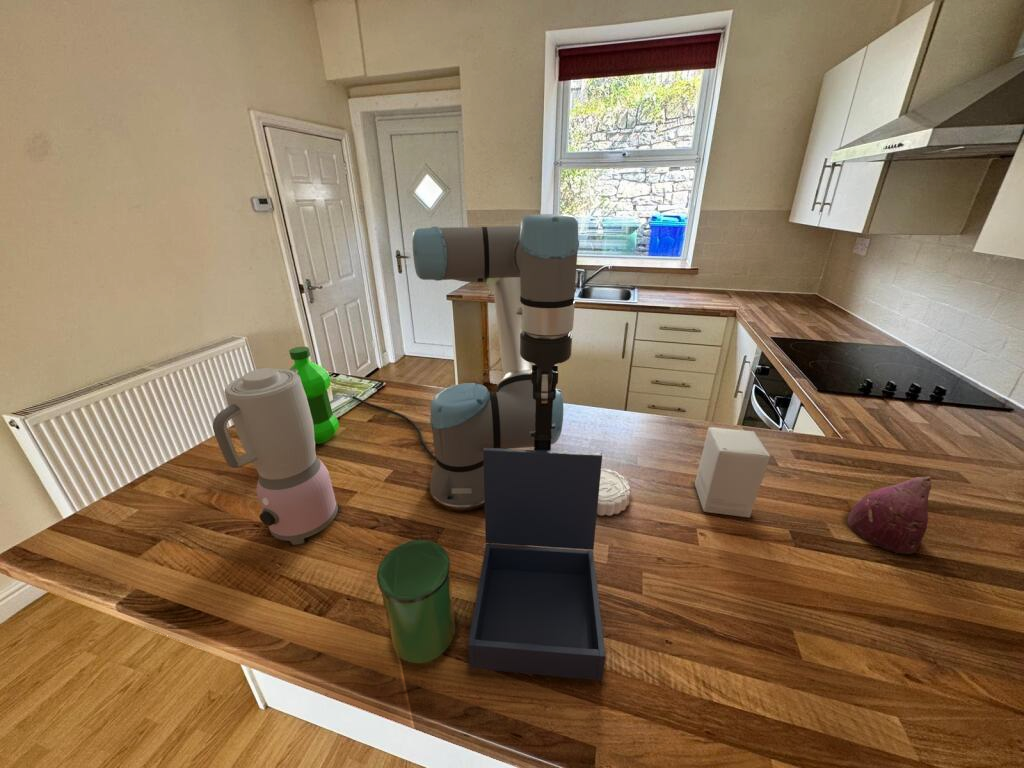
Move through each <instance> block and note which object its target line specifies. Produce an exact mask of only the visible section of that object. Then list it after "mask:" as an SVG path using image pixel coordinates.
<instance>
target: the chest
mask: <svg viewBox="0 0 1024 768" xmlns="http://www.w3.org/2000/svg"><path fill="white" fill-rule="evenodd" d="M484 547H485V548H484V553H483V559H482V564H481V570H480V575H479V581H478V587H477V591H476V597H475V604H474V608H473V614H472V619H471V625H470V631H469V636H468V641H467V651H468V662H469V669H474V670H475V669H476V670H486V671H487V670H488V671H496V672H497V671H498V672H509V673H510V672H511V673H521V674H530V675H531V674H533V675H542V676H543V675H544V676H555V677H567V678H577V679H589V680H601V681H603V675H604V670H605V664H606V657H607V656H606V647H605V640H604V630H603V623H602V614H601V605H600V597H599V589H598V588H599V587H598V579H597V573H596V564H595V555H594V549H593V550H588V549H573V548H557V547H541V546H526V545H510V544H494V543H485V546H484Z"/></svg>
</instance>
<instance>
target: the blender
mask: <svg viewBox="0 0 1024 768" xmlns="http://www.w3.org/2000/svg"><path fill="white" fill-rule="evenodd" d="M297 373H298V370H296V369H290V368H289V369H285V368H272V367H267V368H266V367H263V368H258V369H253V370H251V371H248V372H246V373H245V374H243V375H242V376H240V377H238V378H235V379H234V380H232V381H231V382H229V383H228V384H227V386H226V387H225V389H224V395H225V399H226V403H227V407H225V408H224V409H222V410H220V411H219V412H218V413H217V414H216V416H214V419H213V422H212V430H213V433H214V436H215V439H216V442H217V444H218V447H219V449H220V451H221V453H222V456H223V458H224V460H225V462H226V464H227V466H228V467H229V468H233V469H239V468H243V467H244V466H247V465H248V464H252V465H253V467H254V468H255V469H256V471H257V473H258V480H257V483H256V496H257V500H258V503H259V505H260V508H261V511H262V512H261V513H260V514H259V520H260V521H261V523H262V524H264V525H265V526H267V527H268V529H269V532H270V534H271V536H273V538H275V539H277V540H280V541H285V542H286V541H287V542H290V543H291V545H292V546H296V545H303V544H305V542H306V541H305V539H307V538H309V537H312V536H314V535H316V534H318V533H320V532H321V531H323V530H324V529H325V528H327V527H328V526H329V525H330V524H331V523H332V522H333V521H334V519H335V518H336V516H337V514H338V512H339V505H338V501H337V499H336V496H335V492H334V488H333V483H332V479H331V476H330V472H329V470H328V467H326V465H325V464H324V462H323V461H322V460H321V459H319V458H318V456H317V453H316V443H315V437H314V425H313V420H312V416H311V412H310V408H309V404H308V400H307V397H306V394H305V391H304V388H303V385H302V382H301V379H300V376H299V375H298V374H297ZM230 420H232V424H233V426H234V429H235V431H236V435H237V438H238V440H239V441H240V444H241V446H242V448H243V450H244V452H245V453H244V454H241V455H238V453H237V450H236V447H235V445H234V443H233V440H232V437H231V435H230V432H229V429H228V423H229V421H230Z"/></svg>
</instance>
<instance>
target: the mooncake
mask: <svg viewBox="0 0 1024 768" xmlns="http://www.w3.org/2000/svg"><path fill="white" fill-rule="evenodd" d="M631 491H632V489H631V486H630V483H629V480H626V478H625V476H623V475H621V474H620V473H619V472H617V471H614V470H612V469H610V468H604V467H601V475H600V486H599V496H598V507H597V516H605V515H606V516H607V517H608V516H609V517H610V516H612V515H618V514H620V513H621V512H623V511H625V510H626V509H627V507H628V506H629V504H630V499H631Z"/></svg>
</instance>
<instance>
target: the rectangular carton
mask: <svg viewBox="0 0 1024 768" xmlns="http://www.w3.org/2000/svg"><path fill="white" fill-rule="evenodd" d="M770 459H771V455H770V454H769V453H768V451H767V449H766V447H765V446H764V445H763V443H762V441H761V440H760V439H759V437H758V435H757V434H756V432H755V431H752V430H744V429H743V430H742V429H734V428H733V429H732V428H731V429H730V428H723V427H713V426H712V427H711V426H709V427H708V428H707V433H706V436H705V441H704V445H703V449H702V454H701V458H700V461H699V466H698V470H697V474H696V478H695V482H694V486H695V489H696V493H697V495H698V499H699V502H700V505H701V508H702V511H703V512H705V513H711V514H717V515H718V514H720V515H727V516H734V517H741V518H751V515H752V512H753V510H754V506H755V503H756V500H757V497H758V495H759V492H760V489H761V486H762V484H763V480H764V477H765V474H766V472H767V471H766V470H767V467H768V465H769V462H770Z"/></svg>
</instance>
